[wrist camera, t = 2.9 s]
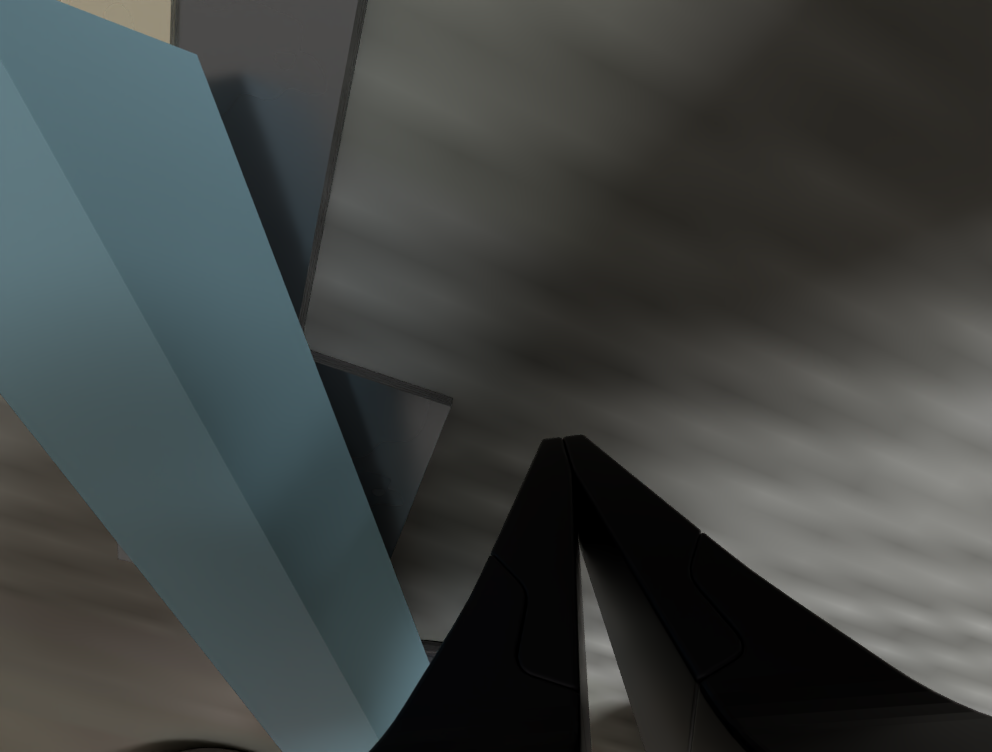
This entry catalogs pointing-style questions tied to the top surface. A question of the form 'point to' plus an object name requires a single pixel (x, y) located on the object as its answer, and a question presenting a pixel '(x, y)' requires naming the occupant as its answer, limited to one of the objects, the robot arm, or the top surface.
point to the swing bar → (186, 377)
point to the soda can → (210, 750)
